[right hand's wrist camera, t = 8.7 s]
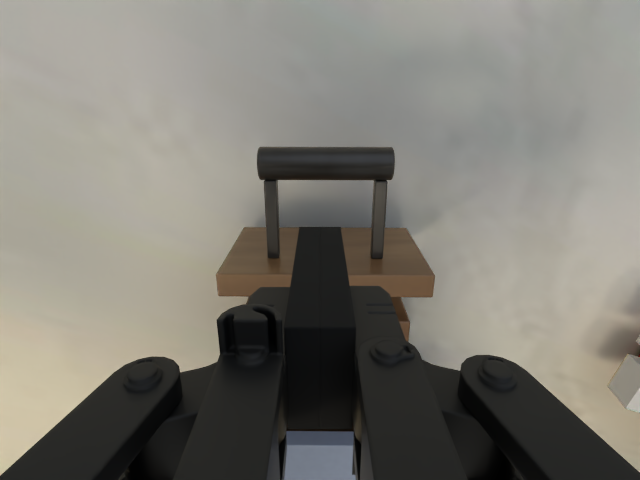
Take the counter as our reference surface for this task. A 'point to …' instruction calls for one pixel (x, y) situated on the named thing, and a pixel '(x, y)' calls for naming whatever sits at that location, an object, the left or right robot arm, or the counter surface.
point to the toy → (628, 382)
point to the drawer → (359, 243)
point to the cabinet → (319, 455)
